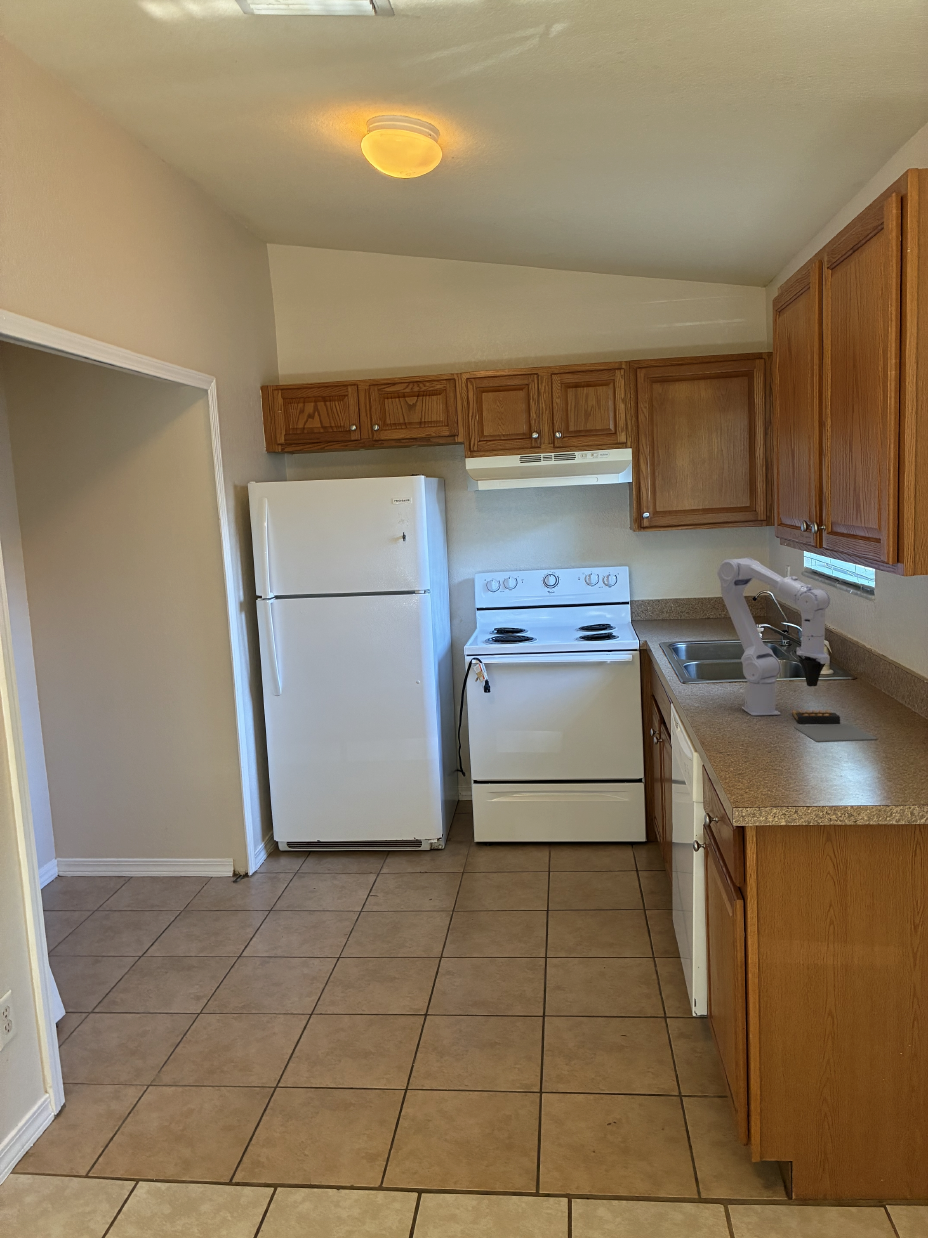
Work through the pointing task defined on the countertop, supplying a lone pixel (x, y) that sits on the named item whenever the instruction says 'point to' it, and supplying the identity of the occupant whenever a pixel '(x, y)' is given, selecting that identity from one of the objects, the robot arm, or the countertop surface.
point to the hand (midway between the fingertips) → (811, 685)
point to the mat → (834, 733)
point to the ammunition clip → (816, 717)
